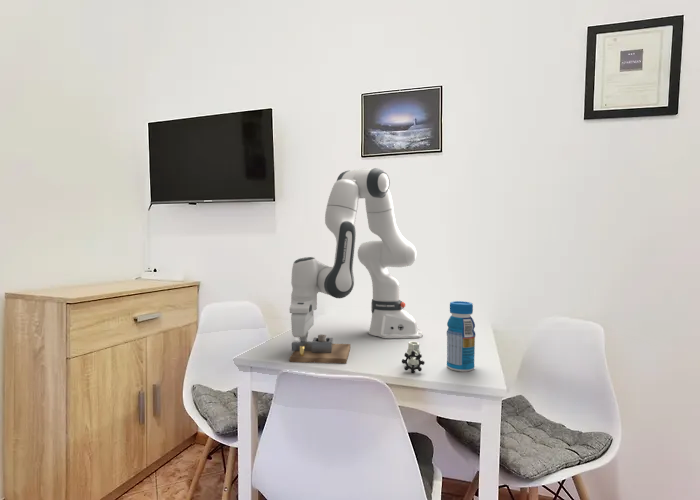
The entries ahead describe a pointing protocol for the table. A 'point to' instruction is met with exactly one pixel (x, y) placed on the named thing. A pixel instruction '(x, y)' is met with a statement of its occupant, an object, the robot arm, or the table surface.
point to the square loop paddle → (314, 346)
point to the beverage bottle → (460, 337)
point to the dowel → (301, 350)
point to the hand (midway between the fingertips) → (303, 344)
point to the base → (324, 354)
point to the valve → (413, 357)
